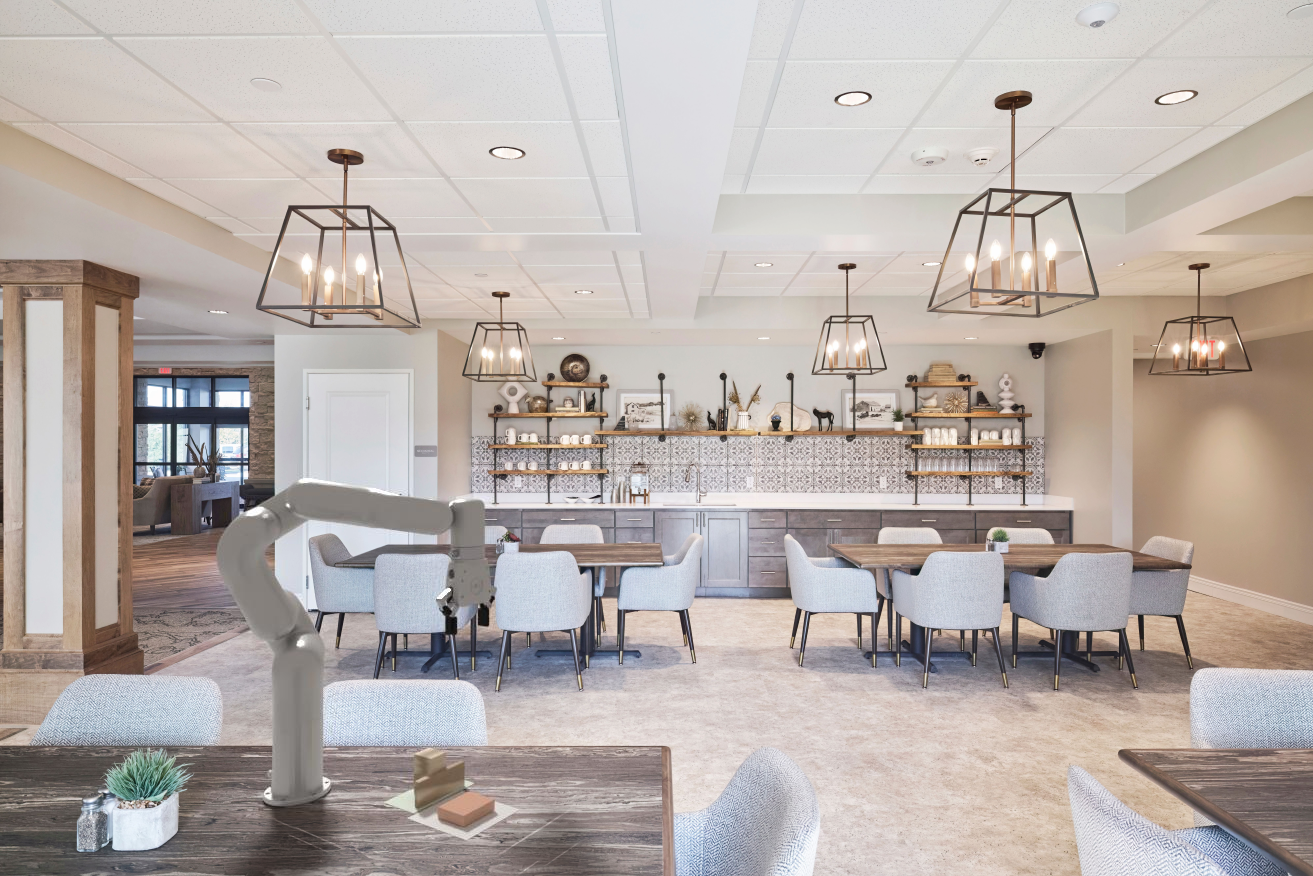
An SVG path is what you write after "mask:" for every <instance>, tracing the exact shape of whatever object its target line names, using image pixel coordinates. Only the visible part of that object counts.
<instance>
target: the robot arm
mask: <svg viewBox="0 0 1313 876" xmlns="http://www.w3.org/2000/svg"><path fill="white" fill-rule="evenodd" d="M485 507H486V505H485V502H484V501H483V500H482V499H478V498H464V499H463V498H461V499H460V498H459V499H456V500H451V499H447V500H446V499H439V498H429V499H427V498H421V497H415V496H414V497H413V496H408V495H407V496H406V495H402V494H401V495H400V494H397V493H396V494H395V493H391V492H388V491H384V490H382V489H378V488H374V487H369V486H362V485H356V484H355V485H354V484H348V483H342V482H341V483H340V482H336V481H335V482H334V481H328V480H323V479H321V480H320V479H316V478H312V477H305V478H301V479H297V480H295V482H293V483H292V484H290V486H288V487H287V488H285V489H284V490H282V491H280V492H279V493H277V494H275V495H274V496H271V498H269V499H267V500H265V501H263V502H261V503H260V504H258V505H256V506H255V507H253V508H250V509H249V510H246V511H244V512H242V513H240V514H239V515H237V516H236V517H235V518H234V519H233V520H232V521H231V522H230V523H229V524H228V526H227V527H226V529H225V530H224V532H223V533H222V535H221V536H220V539H219V541H218V544H217V548H216V564H217V565H216V566H217V568H218V571H219V573H220V576H221V578H222V580H223V582H224V584H225V585H226V587H227V588H228V591H229V592H230V594H231V597H232V598H233V600H234V602H235V604H236V605H237V607H238V609H239V611H240V613H241V614H242V616H243V618H244V619H245V621H246V623H247V625H248V627H249V630H250V631H251V633H252V634H253V636H255V637H256V638H258V639H260V640H262V641H265V642H266V643H267V644H268V646H269V648H270V649H271V651H272V653H273V654H274V658H273V660H272V661H273V662H272V667H271V693H272V719H271V720H272V746H271V747H272V749H271V750H272V751H271V752H272V753H271V755H272V758H271V759H272V762H271V763H272V765H271V768H272V769H269V770H268V771H267V772H266V777H268V778H270V779H271V781H270V782H271V783H270V784H271V785H270V786H268V788H266V789H265V791H264V792H263V794H262V795H263V796H262V797H263V798H262V800H263V801H264V803H265V804H268V805H269V806H274V807H292V806H300V805H304V804H308V803H311V802H314V801H316V800H318V799H320V798H322V797H324V796H325V795H327V794H328V793H329V792H330V791H331V789H332V788H331V787H332V781H331V779H330V778H328V777H326V776H324V673H325V657H326V655H325V654H326V649H325V644H324V640H323V639H322V637H321V635H320V633H319V631H318V630H317V628H316V626H315V625H314V623H313V622H312V620H311V618H310V616H309V615H308V612H307V611H306V608H305V607H304V605H303V603H302V602H301V601H300V599H299V598H298V596H297V595H296V594H295V593H293V592H292V591H290V590H288V589H286V588H285V589H284V588H283V587H282V585H281V584H280V582H279V580H278V579H277V577H276V575H275V572H274V571H273V569H272V567H271V566H270V564H269V563H268V561H267V559H266V555H265V553H266V550H267V548H269V546H271V545H272V544H273V543H275V542H276V541H277V540H279V539H280V538H283V536H285V535H287V534H288V533H290V532H292V531H293V530H296V528H299V527H300V526H301V525H303V524H305V523H307V522H308V521H319V522H326V523H336V524H342V525H343V524H345V525H350V526H357V527H363V528H364V527H365V528H369V529H383V530H391V531H398V532H404V533H411V534H412V533H413V534H418V535H419V534H420V535H428V536H439V535H443V534H444V533H446V532H447V531H449V530H450V550H449V551H448V552H447V553H448V554H447V555H448V557H449V558H450V561H448V565H447V571H446V579H445V590H444V591H443V592H442V593H441V594H440V595H439V596H437V597H436V599H435V602H436V604H437V606H438V610H439V611H440V613H442V616H443V617H444V620H445V621H444V632H445V635H451V636H457V634H458V616H456V614H457V613H458V611H459V609H460V608H466V607H472V606H477V605H478V606H479V607H478V608H477V626H479V627H485V628H487V627H490V609H491V608H492V607H493V602H494V601H495V598H496V594H497V591H498V588H497V586H495V585H493V584H492V582H491V581H492V579H491V572H490V571H491V570H490V565H489V562H488V558H487V557H486V545H485V544H486V523H485V522H486V517H485V516H486V509H485Z"/></svg>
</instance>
